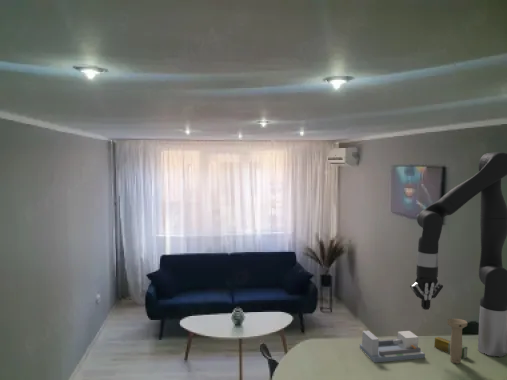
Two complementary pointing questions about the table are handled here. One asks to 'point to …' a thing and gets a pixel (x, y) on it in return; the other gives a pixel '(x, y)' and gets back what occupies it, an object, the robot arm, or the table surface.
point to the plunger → (406, 340)
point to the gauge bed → (387, 349)
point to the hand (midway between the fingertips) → (425, 308)
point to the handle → (456, 339)
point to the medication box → (448, 346)
